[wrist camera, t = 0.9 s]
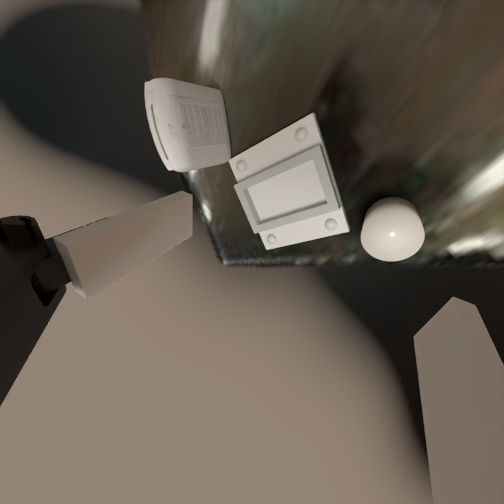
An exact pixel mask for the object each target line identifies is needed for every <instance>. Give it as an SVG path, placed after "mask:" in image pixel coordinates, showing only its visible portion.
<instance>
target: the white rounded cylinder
mask: <svg viewBox="0 0 504 504" xmlns="http://www.w3.org/2000/svg"><path fill="white" fill-rule="evenodd" d="M424 235H425V234H424V229H423V226H422V223H421V220H420V217H419V215H418V212H417V209H416V207H415V206H414V205H413V204H412V203H411V202H410V201H408V200H406V199H404V198H400V197H387V198H384V199H381V200H379V201H377V202H375V203H374V204H373V205H372V206H371V207H370V208H369V209H368V211H367V212H366V215H365V219H364V223H363V228H362V232H361V243H362V245H363V247H364V249H365V250H366V251H367V252H368V253H369V254H370V255H371V256H373V257H375V258H377V259H380V260H384V261H399V260H403V259H406V258H408V257H410V256H412V255H413V254H415V253H416V252H417V251H418V250H419V249H420V247H421V246H422V244H423V242H424Z"/></svg>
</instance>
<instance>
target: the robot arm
mask: <svg viewBox="0 0 504 504" xmlns="http://www.w3.org/2000/svg"><path fill="white" fill-rule="evenodd" d="M191 236H192V195H191V194H188V193H186V192H183V191H180V192H178V193H175V194H172V195H169V196H167V197H164V198H161V199H159V200H156V201H153V202H150V203H147V204H145V205H142V206H139V207H136V208H134V209H131V210H128V211H126V212H123V213H120V214H117V215H115V216H111V217H107V218H104V219H101V220H98V221H96V222H95V223H90V224H87V225H86V226H82V227H79V228H76V229H73V230H71V231H68V232H65V233H62V234H60V235H57V236H54V237H51V238H48V239H44V237H43V235H42V233H41V230H40V228H39V226H38V223H37V221H36V220H35V218H32V217H30V216H10V217H4V218H0V406H1V404H2V402H3V401H4V399H5V397H6V395H7V394H8V392H9V390H10V388H11V387H12V385H13V383H14V381H15V380H16V378H17V376H18V374H19V373H20V371H21V369H22V367H23V366H24V364H25V362H26V360H27V359H28V357H29V355H30V354H31V352H32V350H33V348H34V347H35V345H36V343H37V341H38V340H39V338H40V336H41V334H42V333H43V331H44V329H45V327H46V326H47V324H48V322H49V320H50V318H51V317H52V315H53V313H54V312H55V310H56V308H57V306H58V305H59V303H60V301H61V299H62V298H63V296H64V294H65V292H66V286H65V284H67V283H69V282H72V284H73V287H74V289H75V291H76V292H77V293H78V294H80V295H81V296H83V297H84V298H86V299H87V300H88V299H89V298H91V297H92V296H94V295H96V294H97V293H99V292H101V291H102V290H104V289H106V288H107V287H109V286H111V285H112V284H114V283H115V282H117V281H119V280H120V279H122V278H124V277H125V276H127V275H129V274H130V273H132V272H133V271H135V270H137V269H138V268H140V267H142V266H143V265H145V264H147V263H148V262H150V261H151V260H153V259H155V258H156V257H158V256H160V255H161V254H163V253H164V252H166V251H168V250H169V249H171V248H173V247H174V246H176V245H177V244H179V243H181V242H183V241H184V240H186V239H187V238H189V237H191ZM414 344H415V352H416V360H417V368H418V376H419V384H420V393H421V402H422V409H423V418H424V427H425V435H426V443H427V450H428V459H429V468H430V475H431V484H432V493H433V501H434V504H504V366H503V364H502V361H501V359H500V357H499V355H498V353H497V351H496V349H495V346H494V344H493V342H492V340H491V338H490V336H489V334H488V331H487V329H486V327H485V325H484V323H483V321H482V319H481V316H480V314H479V312H478V310H477V308H476V306H475V305H473V304H470V303H468V302H465V301H463V300H460V299H457V298H455V297H452V299H451V300H450V301H448V303H447V304H446V305H445V306H444V307H443V308H442V309H441V310H440V311H439V312H438V313H437V314H436V315H435V316H434V317H433V318H432V319H431V320H430V321H429V322H428V323H427V324H426V325H425V326H424V327H423V328H422V329H421V330H420V331H419V332H418V333H417V334H416V335H415V336H414Z"/></svg>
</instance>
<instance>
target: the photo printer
mask: <svg viewBox="0 0 504 504" xmlns="http://www.w3.org/2000/svg"><path fill="white" fill-rule="evenodd" d="M145 104H146V111H147V117H148V121H149V125H150V129H151V132H152V136H153V139H154V142H155V145H156V147H157V150H158V152H159V154H160V156H161V159H162V161H163V162H164V164H165V166H166V168H167V169H168V170H175V171H178V172H187V171H191V170H196V169H201V168H205V167H210V166H214V165H219V164H223V163H226V162H227V161H228V160H230V159H231V146H230V139H229V132H228V125H227V118H226V111H225V106H224V100H223V96H222V93H221V91H220V90H219V89H214V88H210V87H206V86H201V85H197V84H192V83H188V82H184V81H179V80H175V79H170V78H157V79H152V80H151V81H149V82H145Z"/></svg>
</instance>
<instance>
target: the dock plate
mask: <svg viewBox="0 0 504 504" xmlns="http://www.w3.org/2000/svg"><path fill="white" fill-rule="evenodd" d="M228 161H229V163H230V166H231V168H232V170H233V173H234V175H235V177H236V180H237V182H238V184H236V185H234V188H235V190H236V192H237V195H238V197H239V199H240V201H241V204H242V206H243V208H244V211H245V213H246V215H247V218H248V220H249V222H250V224H251V227H252V229H253V231H254V234H255V233H260V236H261V238H262V241H263V243H264V245H265V248H266V250H268V249H273V248H277V247H282V246H286V245H291V244H295V243H300V242H304V241H309V240H313V239H318V238H322V237H327V236H331V235H336V234H340V233H344V232H349V231H350V227H349V223H348V220H347V217H346V214H345V210H344V207H343V204H342V201H341V197H340V194H339V191H338V187H337V184H336V181H335V178H334V174H333V171H332V168H331V165H330V161H329V158H328V155H327V151H326V148H325V145H324V142H323V138H322V135H321V132H320V129H319V125H318V122H317V119H316V115H315V113H311V114H310V115H308V116H306V117H304V118H302V119H301V120H299V121H297V122H295V123H294V124H292V125H290V126H288V127H287V128H285V129H283V130H281V131H279V132H278V133H276V134H274V135H272V136H271V137H269V138H267V139H265V140H264V141H262V142H260V143H258V144H257V145H255V146H253V147H251V148H249V149H248V150H246V151H244V152H242V153H241V154H239V155H237V156H235V157H234V158H232V159H230V160H228Z"/></svg>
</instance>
